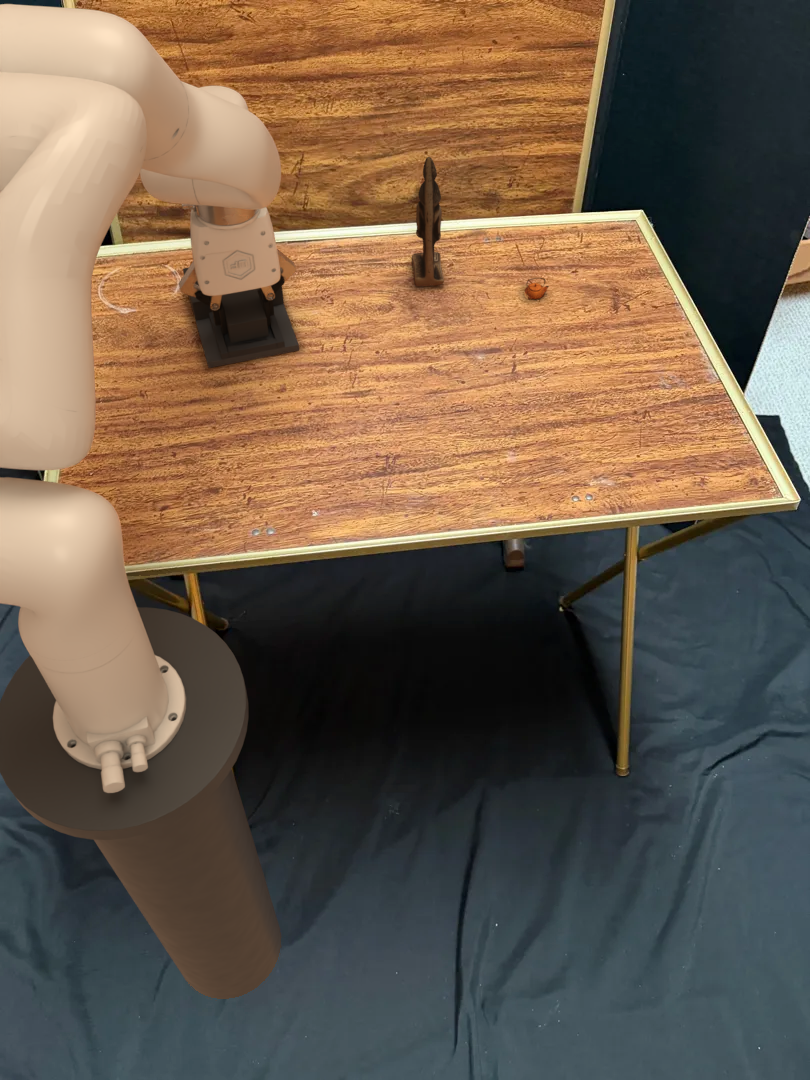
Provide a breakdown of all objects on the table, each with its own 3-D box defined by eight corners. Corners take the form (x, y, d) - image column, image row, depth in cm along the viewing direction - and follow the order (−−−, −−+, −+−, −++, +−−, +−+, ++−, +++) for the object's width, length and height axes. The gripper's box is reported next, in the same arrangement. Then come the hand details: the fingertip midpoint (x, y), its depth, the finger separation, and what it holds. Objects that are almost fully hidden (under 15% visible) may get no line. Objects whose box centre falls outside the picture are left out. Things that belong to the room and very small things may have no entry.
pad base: (299, 350, 127) (297, 326, 124) (208, 368, 125) (203, 344, 122) (272, 277, 137) (269, 253, 133) (187, 292, 134) (182, 268, 131)
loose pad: (269, 336, 126) (266, 318, 124) (231, 343, 125) (227, 325, 123) (259, 307, 130) (256, 289, 127) (222, 314, 129) (219, 296, 126)
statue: (439, 260, 139) (446, 128, 124) (445, 291, 135) (452, 159, 119) (410, 261, 139) (413, 129, 123) (415, 292, 135) (418, 160, 119)
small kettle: (529, 285, 136) (531, 269, 134) (548, 292, 135) (551, 276, 133) (520, 296, 135) (522, 280, 133) (539, 303, 134) (541, 288, 132)
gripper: (158, 231, 109) (185, 354, 124) (305, 206, 112) (315, 329, 127) (148, 194, 113) (175, 317, 128) (290, 171, 117) (301, 294, 131)
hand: (244, 322), depth 127 cm, fingers closed on loose pad, 5 cm apart
